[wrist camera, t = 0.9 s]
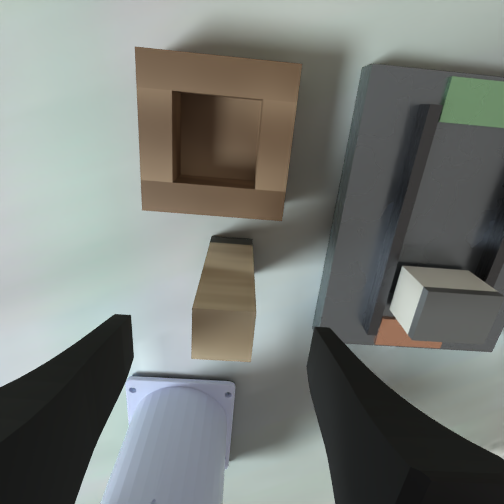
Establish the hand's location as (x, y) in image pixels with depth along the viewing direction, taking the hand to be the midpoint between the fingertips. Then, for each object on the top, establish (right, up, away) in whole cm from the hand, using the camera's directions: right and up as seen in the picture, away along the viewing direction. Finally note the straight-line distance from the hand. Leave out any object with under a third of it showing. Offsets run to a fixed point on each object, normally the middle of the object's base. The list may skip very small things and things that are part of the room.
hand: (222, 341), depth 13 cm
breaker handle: (+12, +1, +7) cm, 14 cm away
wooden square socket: (-1, +10, +5) cm, 11 cm away
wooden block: (0, +3, +8) cm, 8 cm away
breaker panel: (+12, +5, +7) cm, 15 cm away
